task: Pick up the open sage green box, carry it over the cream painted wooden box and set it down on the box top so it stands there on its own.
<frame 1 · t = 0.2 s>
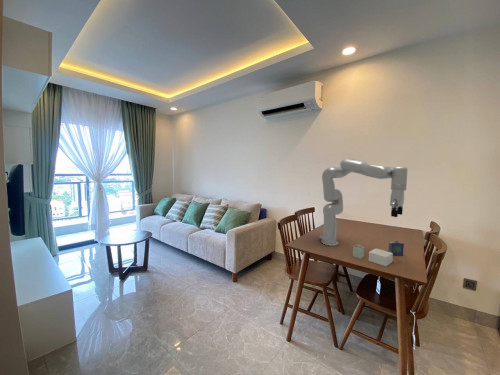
hand: (396, 215, 128), 31 cm above the table, fingers open, 9 cm apart
cream box: (380, 261, 134), on the table
open sage green box: (358, 256, 141), on the table
flask: (395, 255, 144), on the table
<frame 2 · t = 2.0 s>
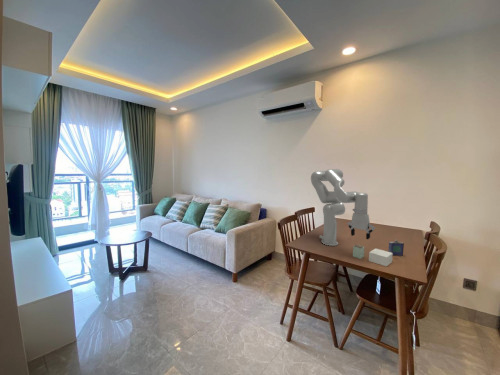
hand: (360, 237, 139), 14 cm above the table, fingers open, 9 cm apart
nothing on the table moved.
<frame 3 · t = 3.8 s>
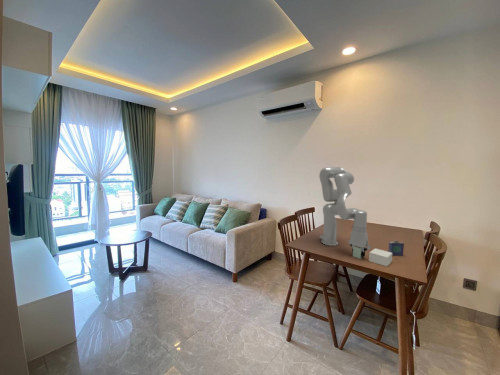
hand: (358, 255, 141), 1 cm above the table, fingers closed on open sage green box, 5 cm apart
open sage green box: (358, 256, 141), on the table, touching gripper
everything else where it was.
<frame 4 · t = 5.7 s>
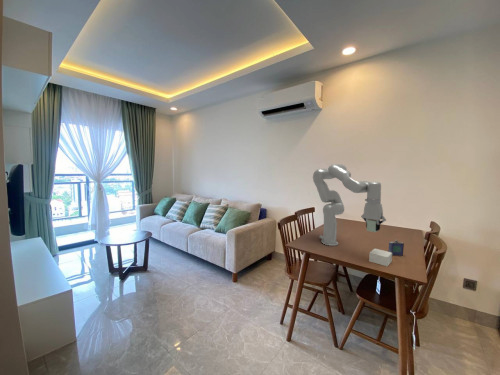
hand: (372, 229, 135), 20 cm above the table, fingers closed on open sage green box, 5 cm apart
open sage green box: (372, 230, 135), point 19 cm above the table, touching gripper
everything else where it was.
when the fingers open (7 cm above the table, at t = 7.9 s): open sage green box stays where it is, resting on cream box.
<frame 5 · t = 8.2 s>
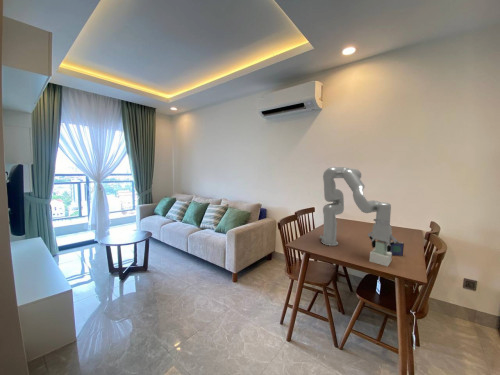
hand: (381, 249, 133), 8 cm above the table, fingers open, 8 cm apart
cream box: (380, 261, 134), on the table, touching open sage green box
open sage green box: (381, 252, 134), point 6 cm above the table, touching cream box
everything else where it was.
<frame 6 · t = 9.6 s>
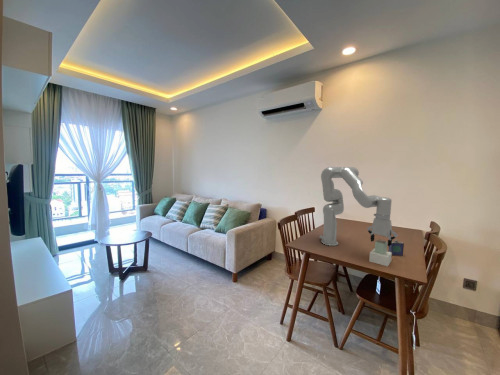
hand: (380, 243, 134), 12 cm above the table, fingers open, 9 cm apart
cream box: (380, 261, 134), on the table
open sage green box: (380, 252, 134), point 6 cm above the table
everything else where it was.
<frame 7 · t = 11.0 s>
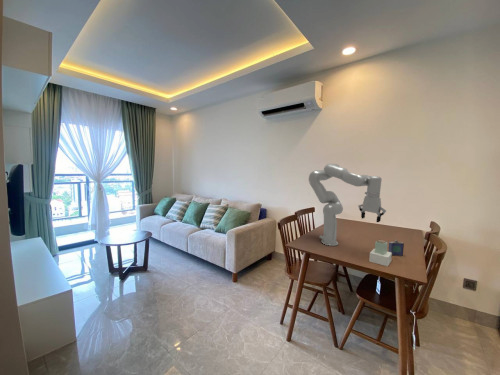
hand: (370, 220, 141), 25 cm above the table, fingers open, 9 cm apart
cream box: (380, 261, 134), on the table, touching open sage green box
open sage green box: (380, 252, 134), point 6 cm above the table, touching cream box
everything else where it was.
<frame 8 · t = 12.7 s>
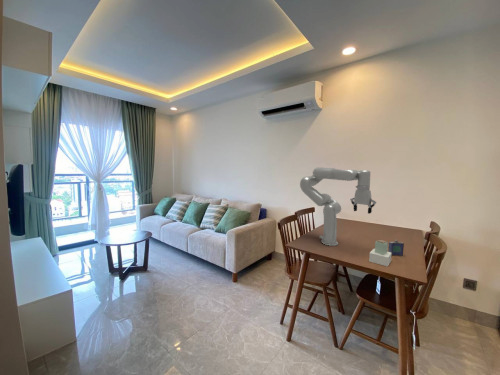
hand: (362, 212, 148), 28 cm above the table, fingers open, 9 cm apart
nothing on the table moved.
at the end: open sage green box inside the target area on the cream box (0.2 cm from its centre), point 6.0 cm above the cream box's base; open sage green box tilted 0°; the gripper is holding nothing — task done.
